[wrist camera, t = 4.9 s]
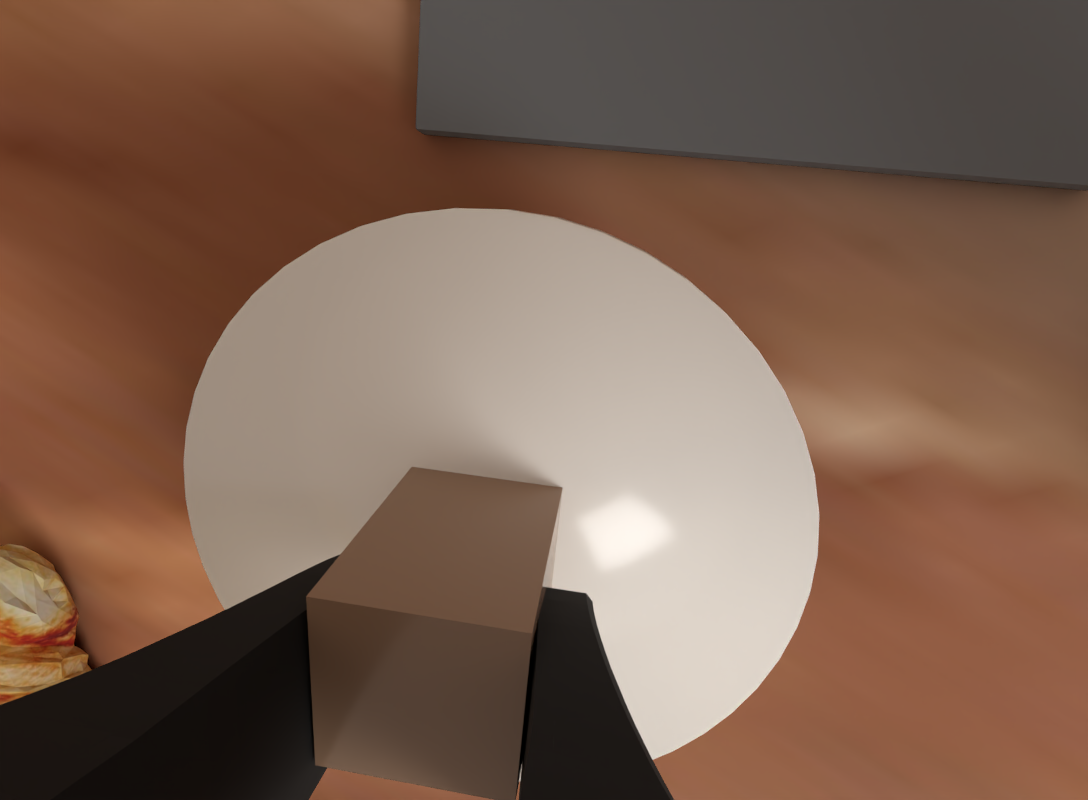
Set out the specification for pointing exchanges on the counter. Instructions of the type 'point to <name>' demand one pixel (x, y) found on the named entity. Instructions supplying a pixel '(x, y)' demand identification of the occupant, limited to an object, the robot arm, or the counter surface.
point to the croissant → (35, 625)
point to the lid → (500, 484)
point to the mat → (772, 82)
